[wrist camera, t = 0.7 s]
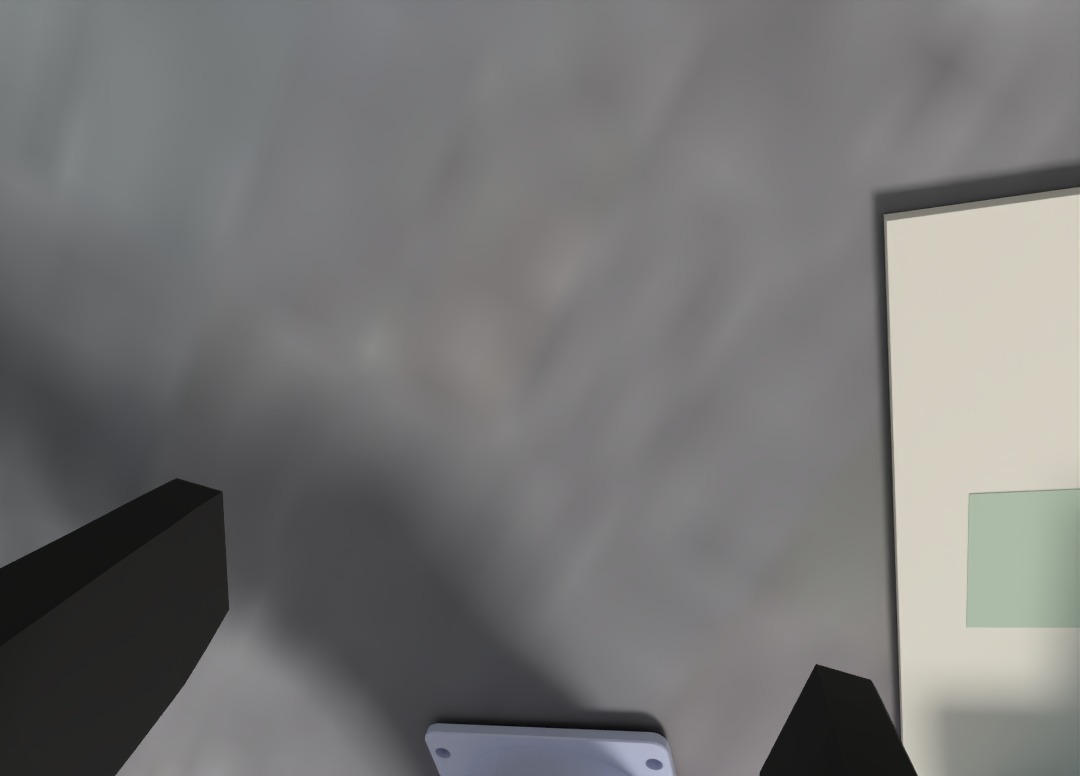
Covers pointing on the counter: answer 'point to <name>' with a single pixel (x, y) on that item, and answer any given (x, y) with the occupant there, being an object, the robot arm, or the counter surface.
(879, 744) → the robot arm
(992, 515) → the mat
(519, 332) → the counter surface
